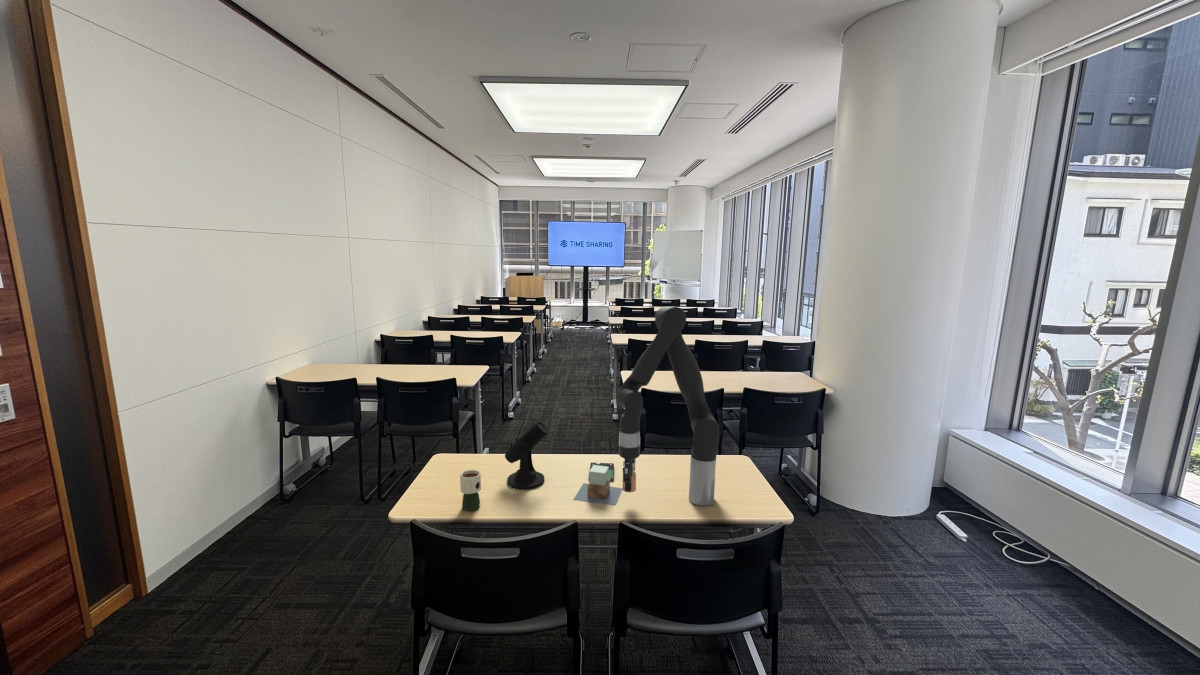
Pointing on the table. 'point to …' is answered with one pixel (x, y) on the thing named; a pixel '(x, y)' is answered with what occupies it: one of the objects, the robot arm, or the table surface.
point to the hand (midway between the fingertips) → (629, 487)
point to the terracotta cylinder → (633, 483)
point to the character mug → (470, 489)
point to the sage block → (598, 475)
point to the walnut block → (599, 490)
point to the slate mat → (610, 499)
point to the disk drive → (610, 465)
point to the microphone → (526, 458)
